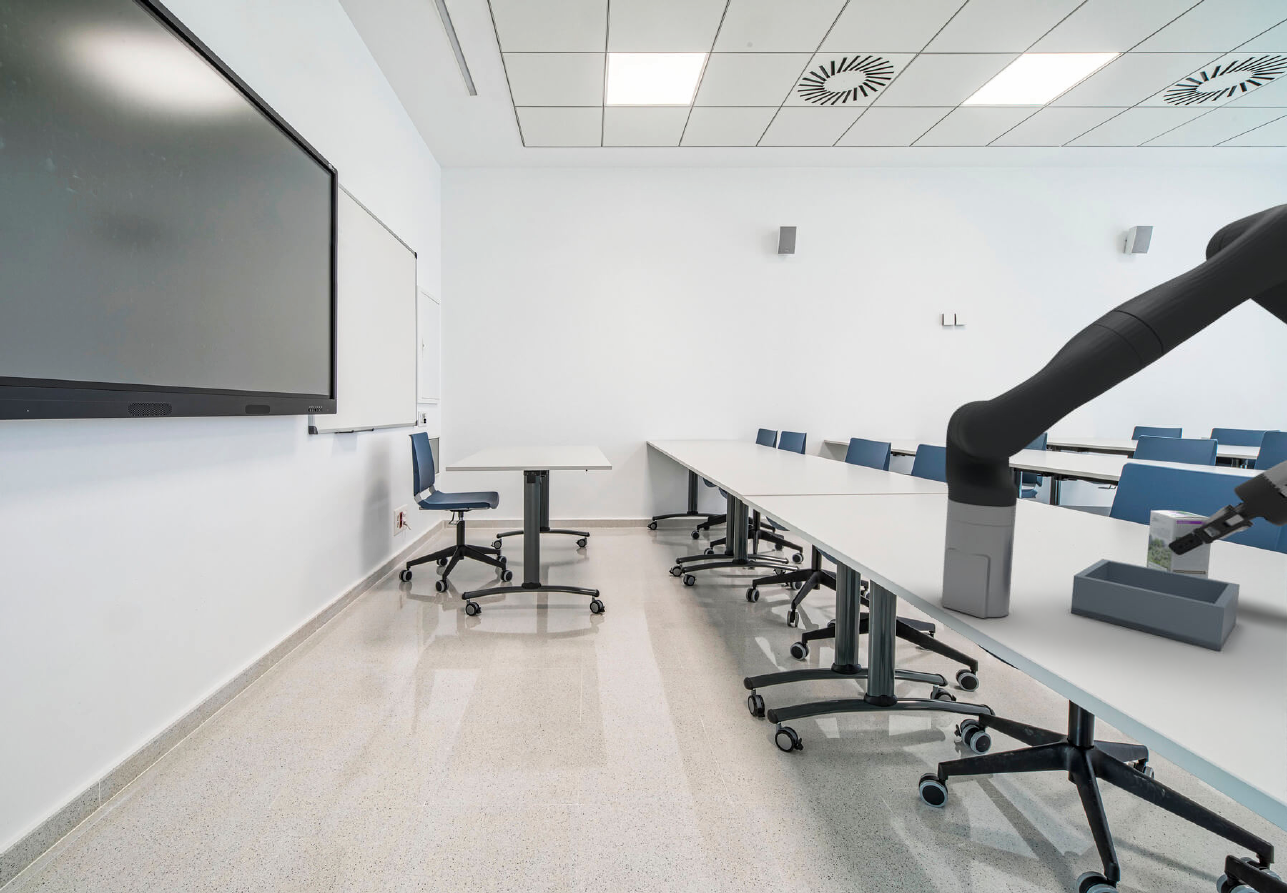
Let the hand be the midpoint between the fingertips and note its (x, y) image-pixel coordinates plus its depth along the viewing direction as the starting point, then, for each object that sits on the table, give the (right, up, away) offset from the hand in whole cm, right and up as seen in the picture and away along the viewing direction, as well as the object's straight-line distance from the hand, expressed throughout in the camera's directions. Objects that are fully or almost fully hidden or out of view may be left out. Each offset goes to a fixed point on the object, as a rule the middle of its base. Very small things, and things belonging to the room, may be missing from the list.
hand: (1178, 546), depth 91 cm
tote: (-14, -9, -9) cm, 19 cm away
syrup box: (0, -9, +1) cm, 9 cm away
